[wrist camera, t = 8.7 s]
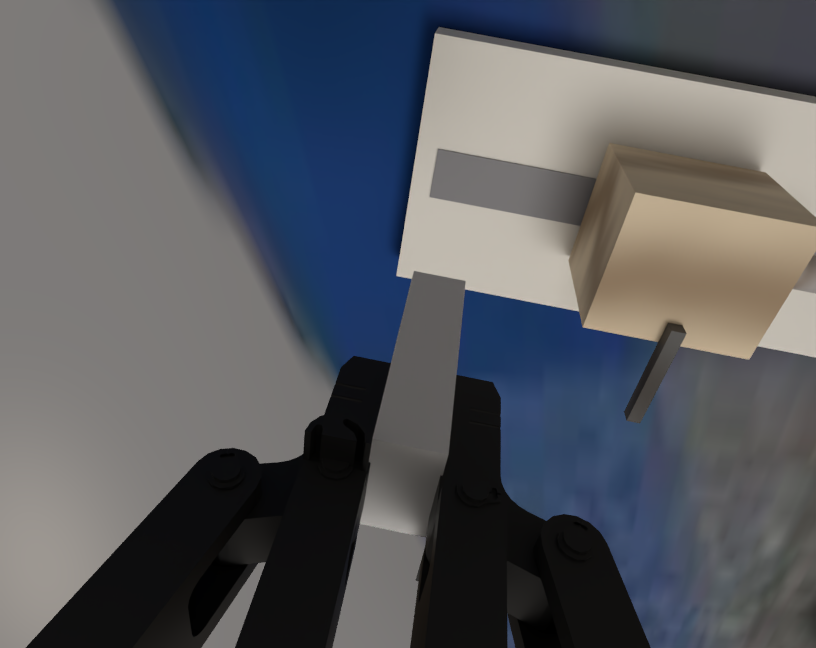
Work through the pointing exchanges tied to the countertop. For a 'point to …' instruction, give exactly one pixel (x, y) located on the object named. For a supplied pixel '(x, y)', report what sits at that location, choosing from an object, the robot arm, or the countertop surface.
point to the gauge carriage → (687, 257)
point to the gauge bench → (575, 160)
